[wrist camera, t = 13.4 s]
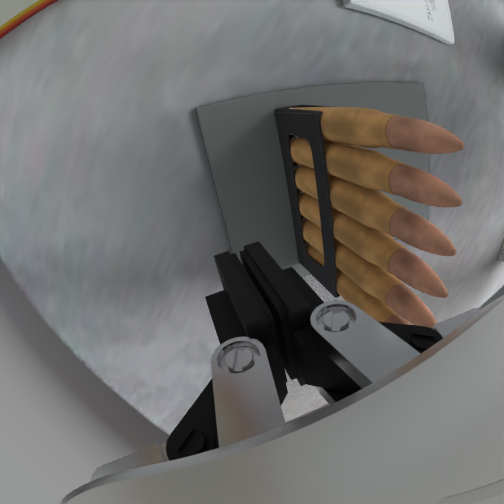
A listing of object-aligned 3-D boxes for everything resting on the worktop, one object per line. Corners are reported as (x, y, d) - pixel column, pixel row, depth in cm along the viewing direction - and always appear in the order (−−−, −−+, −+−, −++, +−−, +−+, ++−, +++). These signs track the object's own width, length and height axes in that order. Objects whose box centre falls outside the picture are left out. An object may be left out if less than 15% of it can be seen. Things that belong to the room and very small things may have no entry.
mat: (418, 82, 18) (423, 83, 18) (423, 223, 24) (428, 225, 24) (195, 107, 15) (196, 107, 15) (243, 293, 21) (246, 297, 21)
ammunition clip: (273, 108, 16) (444, 112, 6) (301, 104, 16) (476, 113, 6) (298, 263, 21) (409, 382, 11) (321, 255, 21) (438, 362, 11)
